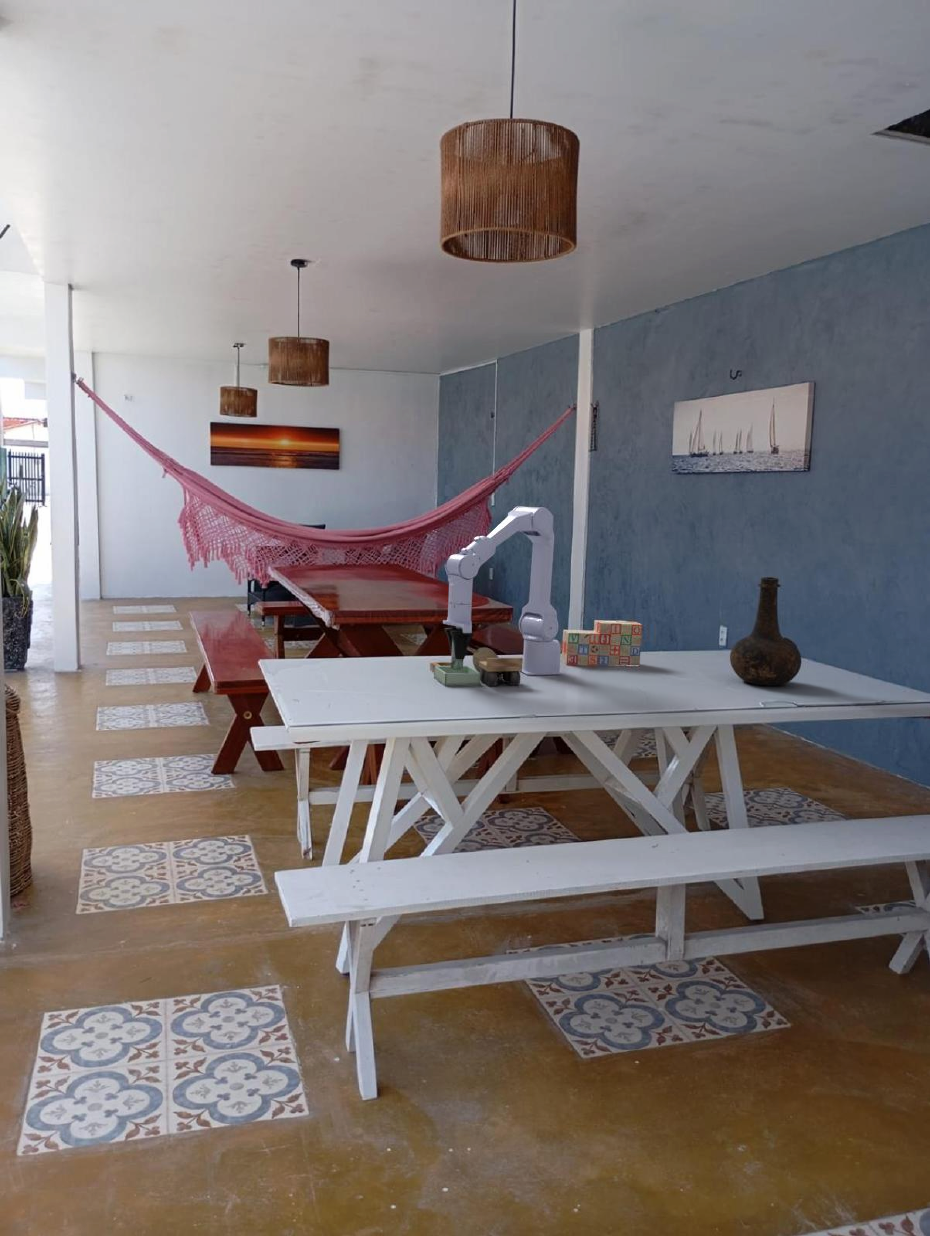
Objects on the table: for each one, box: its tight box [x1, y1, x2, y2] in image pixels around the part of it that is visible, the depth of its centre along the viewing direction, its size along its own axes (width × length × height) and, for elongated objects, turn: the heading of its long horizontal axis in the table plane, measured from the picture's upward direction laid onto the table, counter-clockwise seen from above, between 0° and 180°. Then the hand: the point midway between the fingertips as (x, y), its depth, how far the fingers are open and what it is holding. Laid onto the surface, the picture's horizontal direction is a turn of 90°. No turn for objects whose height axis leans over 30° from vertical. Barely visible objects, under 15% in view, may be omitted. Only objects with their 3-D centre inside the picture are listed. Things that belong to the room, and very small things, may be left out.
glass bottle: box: [729, 576, 802, 687], centre depth 255 cm, size 18×18×28 cm
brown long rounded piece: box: [472, 646, 503, 679], centre depth 251 cm, size 15×7×7 cm, turn 13°
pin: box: [450, 639, 464, 670], centre depth 240 cm, size 3×3×8 cm
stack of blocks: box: [561, 619, 643, 667], centre depth 275 cm, size 21×6×12 cm, turn 98°
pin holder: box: [429, 661, 451, 673], centre depth 254 cm, size 7×7×2 cm
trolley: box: [479, 657, 523, 687], centre depth 241 cm, size 9×8×7 cm
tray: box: [433, 665, 481, 687], centre depth 241 cm, size 9×10×3 cm
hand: (457, 657), depth 241 cm, fingers closed on pin, 3 cm apart
